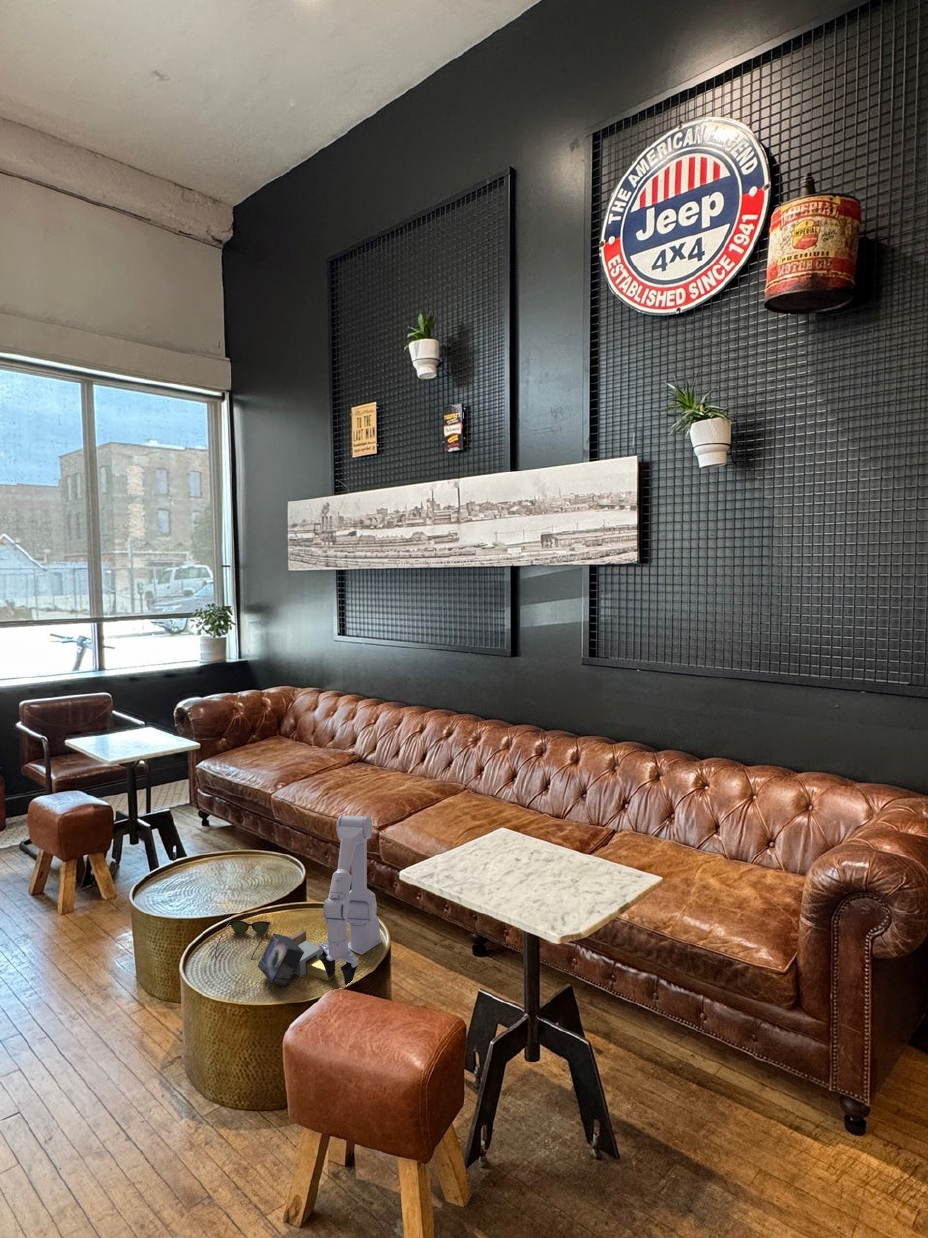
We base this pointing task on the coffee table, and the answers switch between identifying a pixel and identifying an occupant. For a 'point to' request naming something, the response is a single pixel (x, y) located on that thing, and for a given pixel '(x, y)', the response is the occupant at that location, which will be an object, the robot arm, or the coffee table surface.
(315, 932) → the coffee table surface
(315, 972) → the yellow rectangular bar
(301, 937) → the backstop wall
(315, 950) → the socket block
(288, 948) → the small box
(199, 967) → the coffee table surface
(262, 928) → the sunglasses
